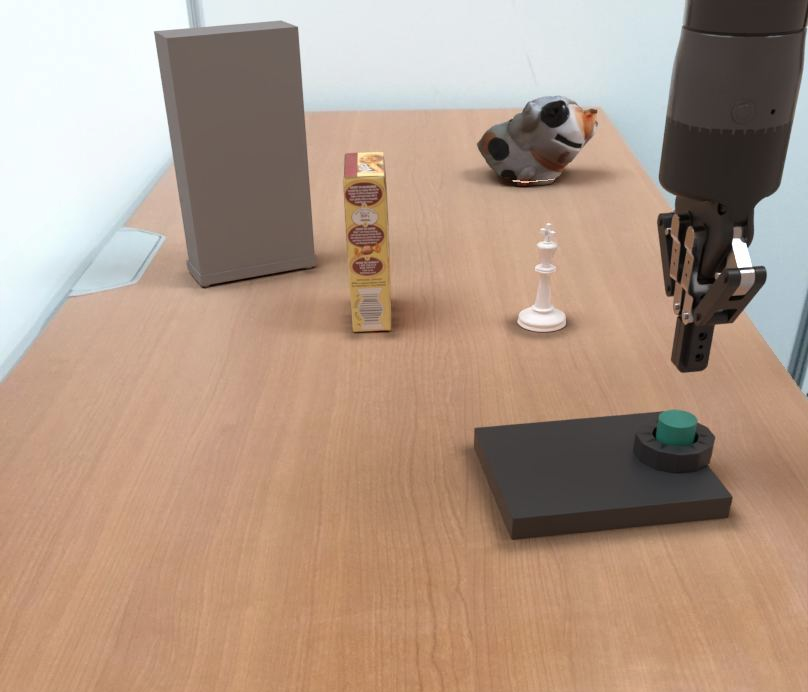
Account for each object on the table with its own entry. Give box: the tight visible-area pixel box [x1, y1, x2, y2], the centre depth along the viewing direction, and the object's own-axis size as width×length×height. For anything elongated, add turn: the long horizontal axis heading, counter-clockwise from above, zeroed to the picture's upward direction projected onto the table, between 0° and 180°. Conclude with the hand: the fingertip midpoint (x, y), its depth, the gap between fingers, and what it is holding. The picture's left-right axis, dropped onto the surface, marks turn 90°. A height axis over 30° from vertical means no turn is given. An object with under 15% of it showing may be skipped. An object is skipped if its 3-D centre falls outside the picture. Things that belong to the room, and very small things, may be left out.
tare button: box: [656, 409, 698, 447], centre depth 71 cm, size 3×3×2 cm
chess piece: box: [517, 222, 567, 333], centre depth 95 cm, size 5×5×10 cm
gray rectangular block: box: [153, 20, 318, 288], centre depth 104 cm, size 14×6×25 cm, turn 115°
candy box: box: [342, 151, 392, 333], centre depth 95 cm, size 9×4×15 cm, turn 2°
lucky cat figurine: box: [476, 95, 599, 187], centre depth 137 cm, size 15×12×14 cm
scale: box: [473, 410, 734, 541], centre depth 72 cm, size 17×13×4 cm
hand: (688, 367), depth 69 cm, fingers closed
